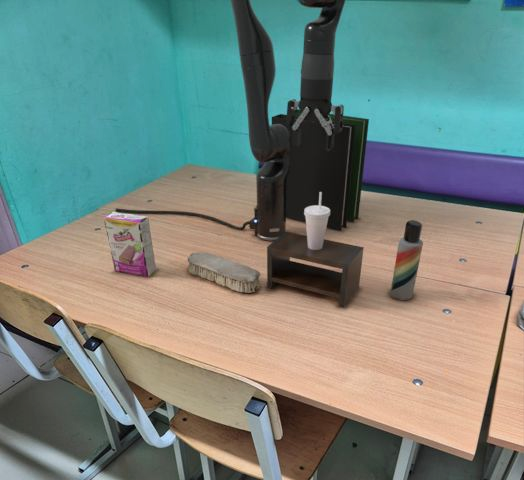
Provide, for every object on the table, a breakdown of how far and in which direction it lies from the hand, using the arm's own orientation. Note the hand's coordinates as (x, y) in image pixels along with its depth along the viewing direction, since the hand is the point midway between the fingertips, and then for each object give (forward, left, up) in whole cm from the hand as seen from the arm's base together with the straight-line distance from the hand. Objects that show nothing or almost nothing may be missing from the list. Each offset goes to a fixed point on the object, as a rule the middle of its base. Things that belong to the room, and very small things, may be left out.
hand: (312, 147), depth 125 cm
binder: (-13, +34, -33) cm, 49 cm away
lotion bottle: (+29, -5, -33) cm, 44 cm away
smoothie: (+7, -12, -21) cm, 25 cm away
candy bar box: (-42, -27, -33) cm, 59 cm away
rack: (+7, -12, -32) cm, 35 cm away
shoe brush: (-17, -19, -33) cm, 42 cm away
